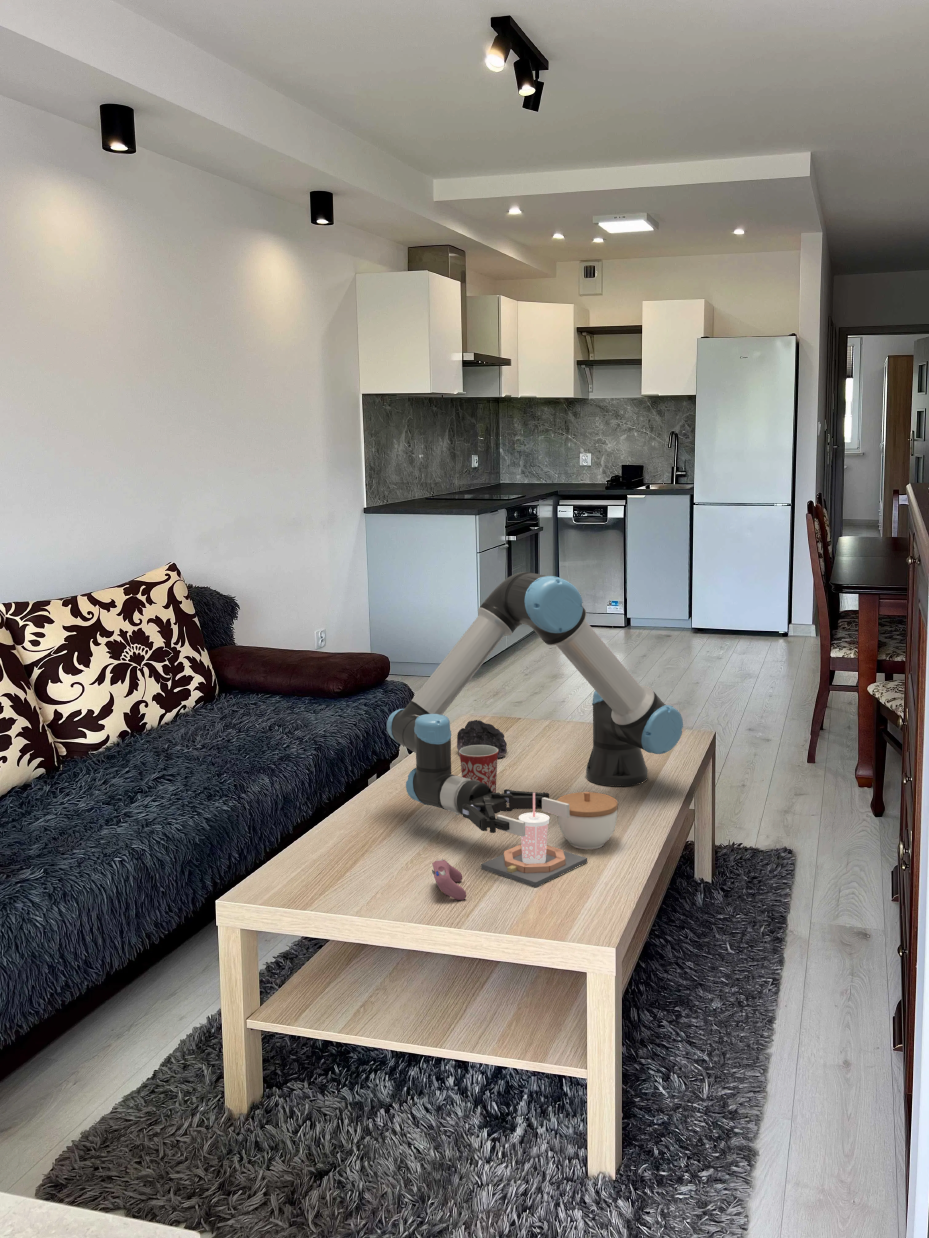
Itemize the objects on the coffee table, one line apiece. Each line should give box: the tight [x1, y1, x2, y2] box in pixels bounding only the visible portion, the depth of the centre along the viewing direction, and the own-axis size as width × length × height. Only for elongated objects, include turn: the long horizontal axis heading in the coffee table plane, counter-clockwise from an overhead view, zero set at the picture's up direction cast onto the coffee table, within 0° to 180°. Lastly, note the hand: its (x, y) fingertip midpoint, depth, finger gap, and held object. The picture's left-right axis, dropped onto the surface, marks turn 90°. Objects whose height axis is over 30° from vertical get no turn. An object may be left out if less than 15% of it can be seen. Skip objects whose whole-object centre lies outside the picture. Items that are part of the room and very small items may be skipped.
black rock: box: [456, 719, 508, 759], centre depth 292 cm, size 13×14×10 cm
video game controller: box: [431, 857, 467, 901], centre depth 204 cm, size 10×5×7 cm, turn 5°
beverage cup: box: [518, 793, 551, 864], centre depth 214 cm, size 6×6×14 cm
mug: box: [458, 745, 499, 792], centre depth 252 cm, size 13×9×14 cm
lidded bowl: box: [556, 791, 619, 850], centre depth 226 cm, size 13×13×11 cm
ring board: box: [480, 844, 588, 888], centre depth 215 cm, size 16×14×2 cm
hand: (546, 820), depth 211 cm, fingers open, 13 cm apart
